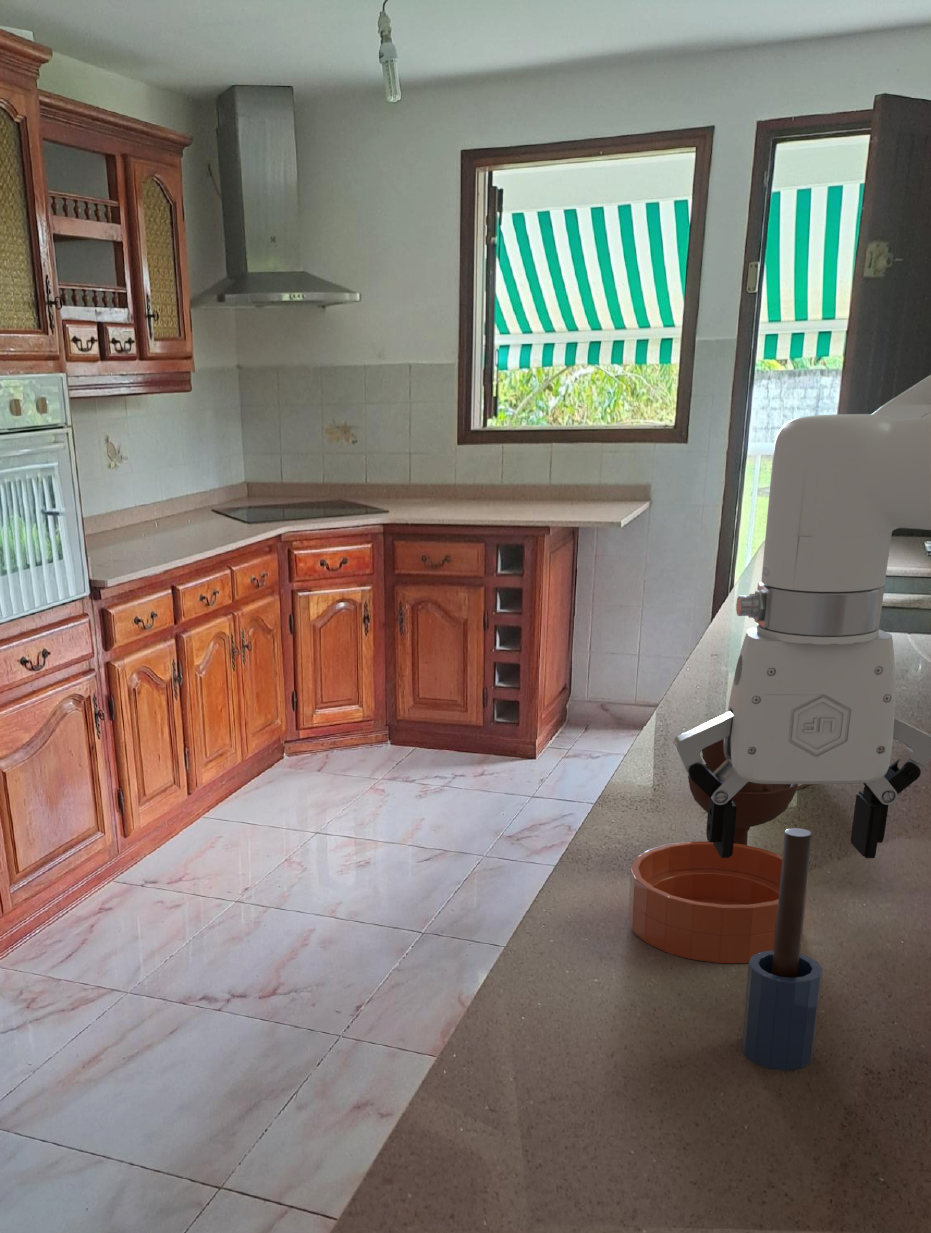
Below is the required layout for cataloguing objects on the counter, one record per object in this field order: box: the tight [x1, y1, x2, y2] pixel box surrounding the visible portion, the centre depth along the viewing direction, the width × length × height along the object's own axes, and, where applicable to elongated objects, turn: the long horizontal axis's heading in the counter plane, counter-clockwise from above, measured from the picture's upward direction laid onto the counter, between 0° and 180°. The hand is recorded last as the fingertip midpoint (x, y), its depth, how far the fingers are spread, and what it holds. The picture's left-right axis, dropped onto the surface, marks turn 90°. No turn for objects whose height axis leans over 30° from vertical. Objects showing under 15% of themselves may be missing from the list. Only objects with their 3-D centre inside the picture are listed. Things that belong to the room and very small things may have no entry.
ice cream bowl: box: [687, 739, 798, 846], centre depth 122 cm, size 11×11×15 cm
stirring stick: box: [771, 827, 813, 978], centre depth 85 cm, size 2×2×18 cm
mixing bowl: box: [628, 840, 809, 964], centre depth 108 cm, size 15×15×6 cm
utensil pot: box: [741, 950, 824, 1071], centre depth 87 cm, size 5×5×8 cm
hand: (791, 851), depth 83 cm, fingers open, 9 cm apart
